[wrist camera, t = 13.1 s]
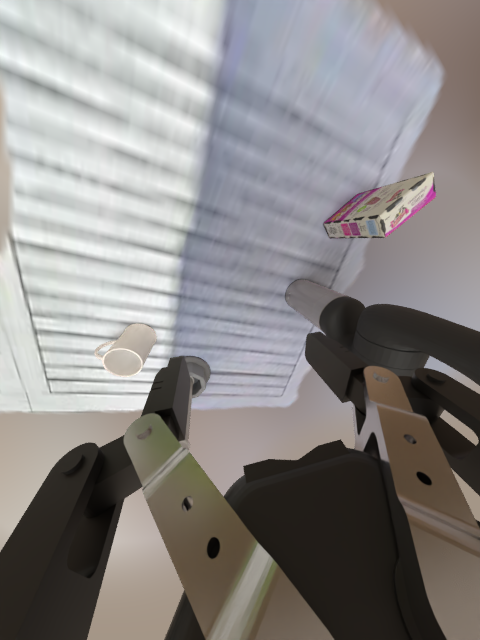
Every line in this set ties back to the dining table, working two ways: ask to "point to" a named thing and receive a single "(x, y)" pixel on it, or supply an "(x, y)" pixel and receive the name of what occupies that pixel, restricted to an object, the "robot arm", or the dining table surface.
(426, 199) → the candy bar box
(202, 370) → the valve socket
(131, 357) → the mug
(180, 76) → the dining table surface
